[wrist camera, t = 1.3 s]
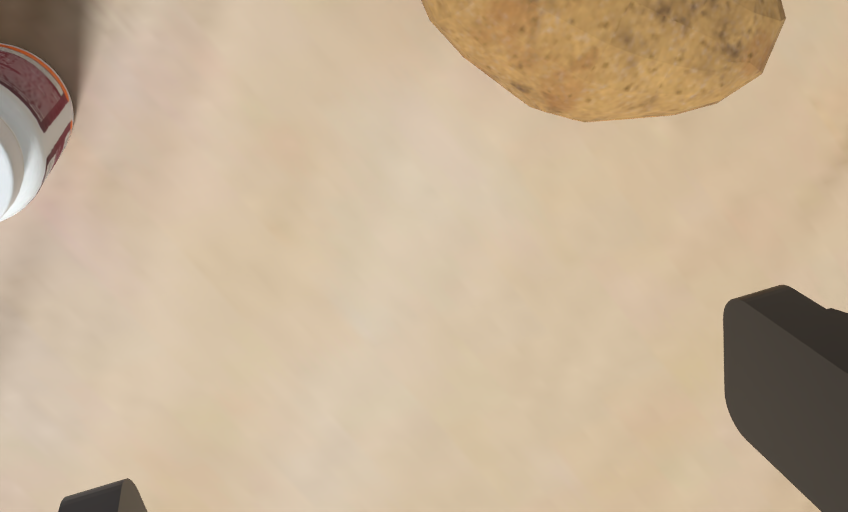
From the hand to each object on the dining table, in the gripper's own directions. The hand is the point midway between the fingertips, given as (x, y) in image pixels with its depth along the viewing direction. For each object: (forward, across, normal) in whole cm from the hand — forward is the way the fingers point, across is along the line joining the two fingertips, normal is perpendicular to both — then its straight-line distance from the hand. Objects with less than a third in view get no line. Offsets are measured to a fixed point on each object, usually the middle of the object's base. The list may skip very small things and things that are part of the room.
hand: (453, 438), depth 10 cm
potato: (+23, -11, -3) cm, 25 cm away
